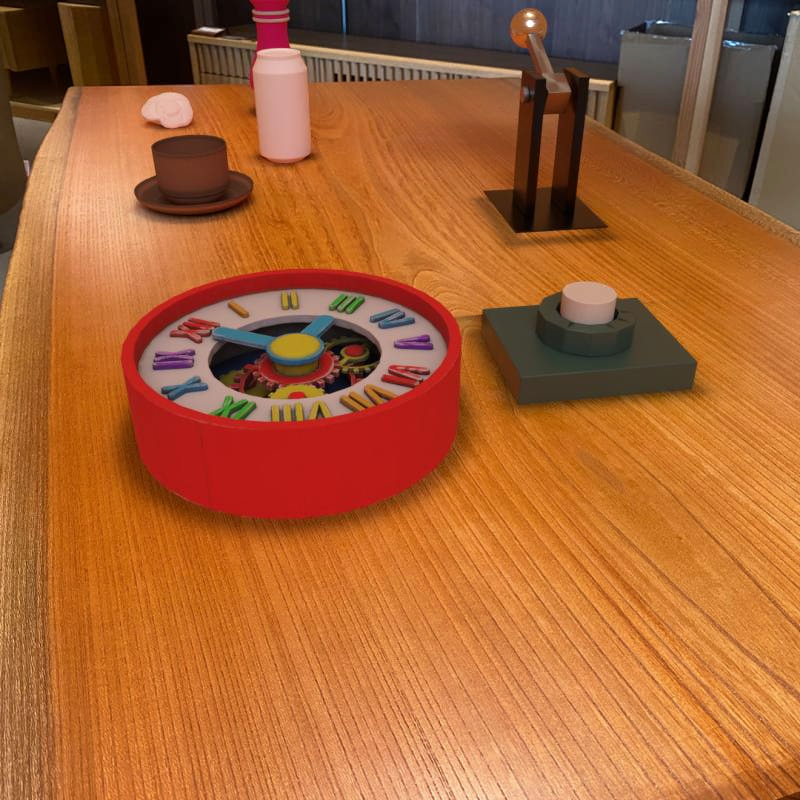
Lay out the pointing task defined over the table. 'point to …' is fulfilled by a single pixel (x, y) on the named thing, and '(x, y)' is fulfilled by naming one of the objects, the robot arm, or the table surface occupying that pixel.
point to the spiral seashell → (168, 110)
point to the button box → (584, 353)
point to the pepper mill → (270, 26)
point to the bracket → (559, 202)
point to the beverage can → (282, 105)
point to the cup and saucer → (192, 177)
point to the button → (588, 303)
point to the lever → (541, 58)
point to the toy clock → (294, 391)
